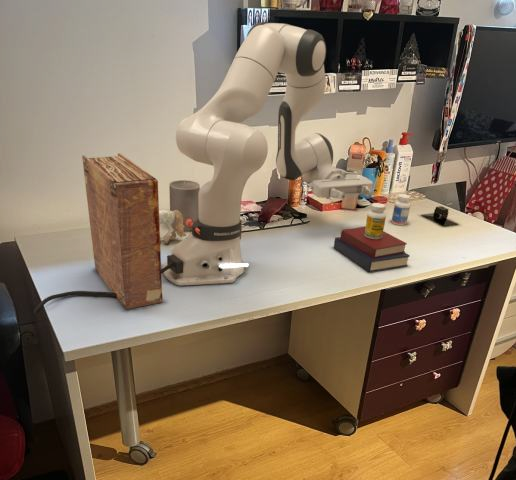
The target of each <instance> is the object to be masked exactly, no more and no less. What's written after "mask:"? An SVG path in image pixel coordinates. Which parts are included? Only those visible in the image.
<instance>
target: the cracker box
mask: <svg viewBox="0 0 516 480" xmlns="http://www.w3.org/2000/svg"><path fill="white" fill-rule="evenodd" d="M366 149H367V146H366V145H362V144H351V145H350V149H349V152H348V153H349V154H348V159H347V165H346V170H349V171H356V172H357V173H358V175H361V176H363V173H364V172H363V171H364V166H365V159H366V152H367V150H366ZM358 200H359V195H347V196H345V198H341V205H340V209H343V210H352V211H356V210H357V205H358Z"/></svg>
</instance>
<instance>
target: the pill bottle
mask: <svg viewBox="0 0 516 480" xmlns="http://www.w3.org/2000/svg"><path fill="white" fill-rule="evenodd" d="M410 200H411V196H410V195H408V194H403V193H401V194H399V195H398V196H397V200H395V202H394V206H393V211H392V216H391V223H392V224H393V225H396V226H397V225H398V226H405V225H407V223H408V218H409V215H410V210H411V202H410Z"/></svg>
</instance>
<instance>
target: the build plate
mask: <svg viewBox="0 0 516 480" xmlns="http://www.w3.org/2000/svg"><path fill="white" fill-rule="evenodd" d="M420 216H421V217H422V218H424V219H426V220H428V221H431V222H432V223H435V224H437V225H438V226H441V227H442V228H443V227H444V228H445V227H454V226H459V223H458V222H455V221H453V220H452V219H450V218H448V216H449V208H447V207H445V206H442V205H441V206H436V207H435V209H434V211H433V212H431V213H424V214H420Z"/></svg>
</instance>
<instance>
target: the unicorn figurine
mask: <svg viewBox="0 0 516 480" xmlns="http://www.w3.org/2000/svg"><path fill="white" fill-rule="evenodd" d="M175 215H176V217H177V220H176V229H175V226H174V225H173V224H172V223H173V222H174V219H175ZM182 223H183V217H182V214H181V213H180V212H179V211H177V210H175V211H170V209H162V210H161V209H160V210H159V225H162V224H163V225H164V226H165V227H166V228H167V230H168V232H167V233H166V234H165V235H164V239H163V240H164V244H165V245H167V244H168V243H169V241H173V239H174V240H175V239H176V238H177V236H179V237H180V238H183V237H187V234H186V233H185V232H186V231H184V230H183V228H184V225H183V224H182Z"/></svg>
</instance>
